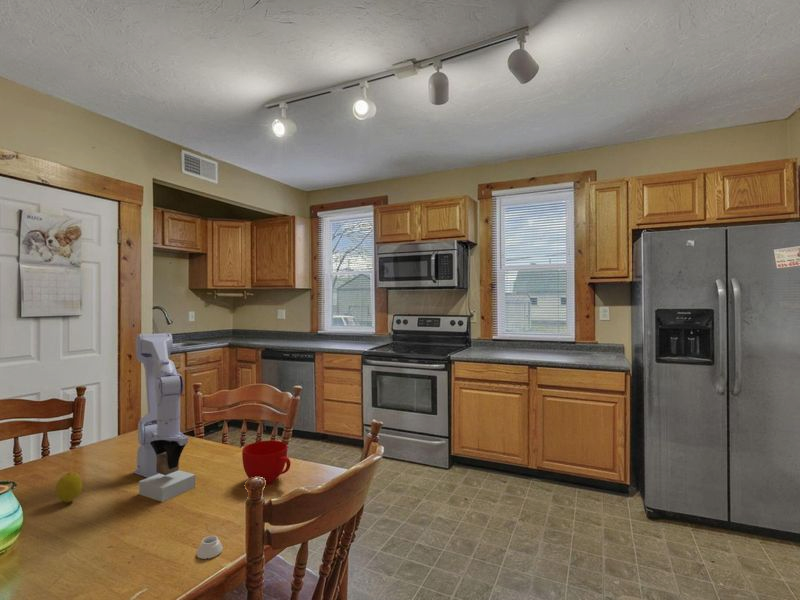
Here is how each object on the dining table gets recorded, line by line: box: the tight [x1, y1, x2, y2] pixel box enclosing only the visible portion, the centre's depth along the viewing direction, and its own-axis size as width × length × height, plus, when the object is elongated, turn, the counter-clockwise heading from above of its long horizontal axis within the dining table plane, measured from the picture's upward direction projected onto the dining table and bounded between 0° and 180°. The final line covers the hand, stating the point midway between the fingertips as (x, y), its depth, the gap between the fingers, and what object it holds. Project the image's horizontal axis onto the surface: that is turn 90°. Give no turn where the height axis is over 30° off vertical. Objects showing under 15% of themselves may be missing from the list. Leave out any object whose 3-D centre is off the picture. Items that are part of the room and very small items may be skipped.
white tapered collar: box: [196, 535, 224, 560], centre depth 89 cm, size 5×3×5 cm
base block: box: [138, 469, 196, 503], centre depth 117 cm, size 10×10×4 cm
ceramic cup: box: [241, 440, 292, 486], centre depth 124 cm, size 13×17×10 cm
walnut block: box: [156, 452, 180, 475], centre depth 117 cm, size 4×4×5 cm
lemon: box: [55, 471, 83, 504], centre depth 110 cm, size 6×6×8 cm
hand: (168, 466), depth 118 cm, fingers closed on walnut block, 4 cm apart
